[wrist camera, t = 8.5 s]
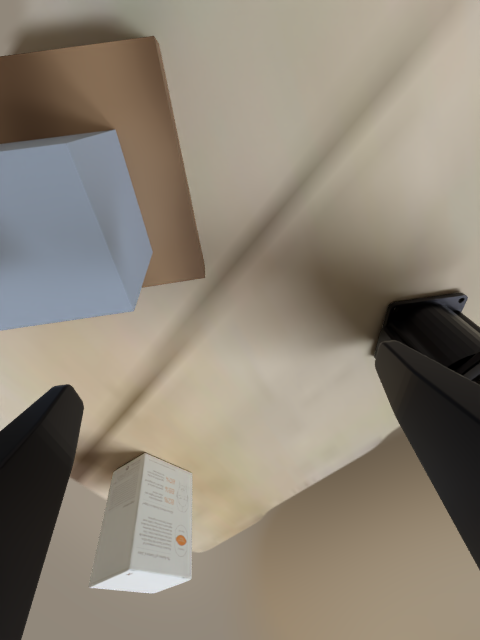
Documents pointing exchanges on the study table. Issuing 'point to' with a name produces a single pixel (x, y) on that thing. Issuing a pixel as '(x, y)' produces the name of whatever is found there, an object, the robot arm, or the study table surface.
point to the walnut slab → (113, 114)
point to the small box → (145, 528)
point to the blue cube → (68, 231)
